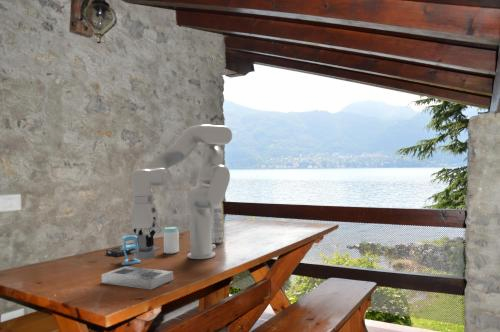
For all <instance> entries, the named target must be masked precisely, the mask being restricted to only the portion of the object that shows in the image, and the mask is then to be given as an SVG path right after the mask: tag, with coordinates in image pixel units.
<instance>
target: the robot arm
mask: <svg viewBox="0 0 500 332" xmlns="http://www.w3.org/2000/svg"><path fill="white" fill-rule="evenodd" d="M232 139H233V133H232V130H231V129H230V127H228V126H227V125H226V126H225V125H219V124H218V125H213V124H197V125H191V126H188V127H187V128H186V129H184V131H183V132H182V133H181V134H180V135H179V137H178V138H177V139H176V140H175V141H174V142H173V143H172V145H171V146H170V147H168V148H166V149H165V150H163V152H161V153H159V154H158V155H157V156H156V157H154V158H152V160H151V161H150V162H149V163H148V164H147V165H146V166H145V168H141V169H138V168H137V169H134V170H132V172H131V180H132V181H131V183H132V184H131V185H132V201H133V203H132V207H131V225H130V227H129V228H130V229H131V230H132V231H133V233H134V234H135V235H136V236H137V239H138V235H140V234H143V233H144V230H146V233H147V234H148V237H147V247H151V246H153V247H154V245H155V244H154V243H155V242H154V241H155V240H154V236H155V235H156V233H157V232H158V231H159V230H160V229H161V228H160V226H159V217H158V216H159V215H158V209H157V207H156V203H155V202H154V201H155V199H156V198H155V197H154V195H153V186H155V187H165V186H167V185H168V184H170V182H172V179H173V174H172V171H171V170H169V168H171V167H174V166H176V165H178V164H180V163H183V162H184V161H186V160H187V159H188V157H190V155H191V154H192V153H193V151H194V150H195V149H196V148H197V147H198V146H199V145H203V147H204V150H205V151H204V152H205V153H204V154H205V155H204V157H203V158H204V159H203V161H202V164H201V167H200V169H199V172H198V176H197V180H198V182H199V183H200V184H201V185H202V186H194V187H192V188H191V189H190V190H189V191H188V192H187V197H186V200H187V204H188V209H189V236H190V237H189V238H190V252H189V253H187V255H186V256H187V258H188V259H192V260H206V259H211V258H215V256H216V252H214V251H213V249H216V247H217V246H216V243H212V236H211V214H210V211H209V208H217V207H219V206H220V204H221V203H223V201H224V199H225V196H226V192H227V189H228V187H229V184H230V180H231V173H230V170H229V168H228V167H227V166H225V165H224V164H223V160H224V154H223V151H222V149H221V147H220V146H225V145H228V144H229V143H231V141H232Z"/></svg>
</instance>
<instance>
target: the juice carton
mask: <svg viewBox="0 0 500 332" xmlns="http://www.w3.org/2000/svg"><path fill="white" fill-rule="evenodd" d="M209 211H210V214H211V236H212V244H221V243H223V241H224V235H225V231H224V230H225V229H224V227H225V226H224V220H225V219H224V204H223V202H222V203H221V204H220V206H219V207H217V208H209Z"/></svg>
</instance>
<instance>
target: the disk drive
mask: <svg viewBox="0 0 500 332" xmlns="http://www.w3.org/2000/svg"><path fill="white" fill-rule="evenodd" d="M133 250H135V248H132V249H125V251H126V254H127V256H128V255H133V254H134V253H131V252H130V251H133ZM105 251H106V252H105V254H106V256H107V255H108V256H112V257H117V258H120V257H121V258H122V257H123V256H124V257H125V254H124V251H123V247H122V246H118V247H116V248H115V247H114V248H110V249H106V250H105Z"/></svg>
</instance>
